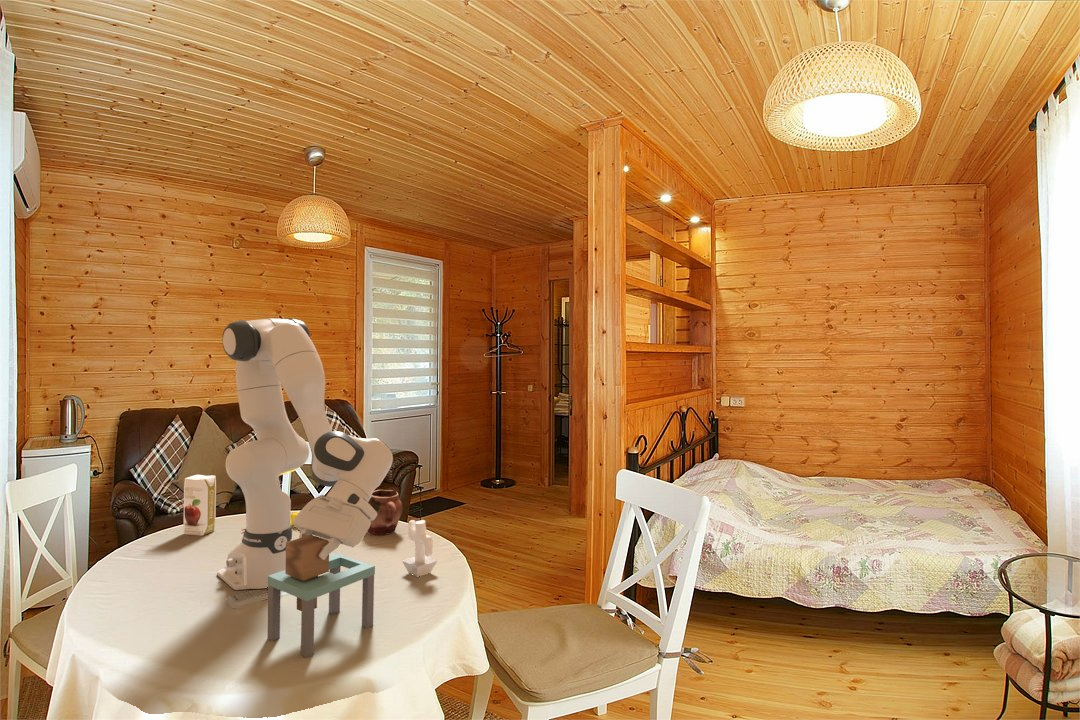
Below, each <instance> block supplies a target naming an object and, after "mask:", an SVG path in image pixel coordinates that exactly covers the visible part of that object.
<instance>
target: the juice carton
mask: <svg viewBox="0 0 1080 720" xmlns="http://www.w3.org/2000/svg"><path fill="white" fill-rule="evenodd" d="M216 502H217V479H216V475H204V474H195V475H191V476H189V477H185V478H184V483H183V534H184V535H188V536H199V537H200V536H205V535H207V534H209V533H212V532H214V531H215V528H216V515H217V514H216V511H217V510H216V509H217V508H216V506H217V505H216V504H217V503H216Z"/></svg>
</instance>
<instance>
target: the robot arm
mask: <svg viewBox="0 0 1080 720" xmlns="http://www.w3.org/2000/svg"><path fill="white" fill-rule="evenodd" d="M221 339H222V347H223V350H224V353H225V355H227V356H228V358H230V359H231V360H233V361H236V363H235V364H236V366H235V367H236V368H235V382H236V384H235V385H236V391H237V399H238V405H239V412H240V417H241V419H242V421H243V422H244V423H245V424H247V425H249V426H250V427H251V428H252V429H253V431H254V432H255V434H256V437H257V440H252V441H248V442H247V441H246V442H244V443H243V444H241V445H238V446H236V447H234V448H233V449H231V450H230V452H229V453H228V454H227V456H226V459H225V470H226V474H227V476H228V477H229V478H230V480H232V481H233V482H234V483H236V484H237V485H238V486H239V487H240V489H241V490H242V491H241V492H242V493H243V496H244V500H245V511H246V512H245V513H246V514H245V515H246V516H245V517H246V519H245V520H246V521H245V523H246V525H245V528H243V529H241V531H243V532H241V534H242V538H241V542H240V543H239V544H238V545H237V546H235V547H234V548H233V549H231V550H230V551H229V553H228V554H227V558H226V561H225V565H226V566H224V567H222V568H220V569H219V570H217V573H216V575H217V577H219V578H220V579H221V580H222V581H223V582H225V583H226V584H227V585H228V586H229V587H230V588H232V589H233V590H235V591H240V590H250V589H251V590H252V589H253V590H255V589H256V590H257V589H259V590H260V589H268V588H267V587H268V576H269V575H272V574H275V573H278V572H281V571H284V570H285V569H286V542H289V541H292V540H293V527H294V526H295V528H296V529H298V530H299V531H300V533H299V536H298V539H299V538H302V537H306V536H309V535H313V536H317V537H320V538H323V539H326V540H329V541H328V542H329V543H328V544H327V545H326V546H325V547H324V548H323V549H322V548H320V549H319V551H318V552H317V554H316V556H317V557H318V558H320V559H322V560H325V559H326V557H327V556H328V554H329V555H330V554H331V553H332V552H334V551H335V550H336V549H338V547H339V546H340V545H341V544H342V545H345V546H347V547H351V548H354V547H356V546H357V545H359V544H360V543H361V542H362V541H363V538H364V537H365V535H366V534H367V533H368V532H367V531H368V529H369V527H370V525H371V521H372V520H374V519H375V518H376V516H377V512H376V511H375V510H374V509H373V508H372V507H371V505H370V504H369V503H368V501H369V500H370V498H371V495H372V493H373V491H376V489H377V488H378V487H379V486H381V484H382V483H383V481H384V479H385V478H386V476H387V475H388V472H389V471H390V469H391V467H392V465H393V461H394V456H393V453H392V452H393V451H392V450H391V449H390V447H389V446H388V445H387V444H386V443H385V442H384V441H382V440H380V439H379V438H375V437H371V438H363V437H356V436H353V435H350V434H347V433H345V432H343V431H339V430H338V431H337V430H332V427H331V424H330V421H329V419H328V415H327V413H326V406H325V405H326V404H325V393H326V376H325V374H326V373H325V370H324V367H323V366H324V365H323V363H322V360H321V357H320V354H319V353H318V350H317V348H316V346H315V344H314V343H313V341H312V339H311V333H310V330H309V327H308V326H307V324H306V323H305V322H304V321H302V320H300V319H295V318H286V319H285V318H275V317H274V318H272V317H271V318H269V317H267V318H263V319H262V318H259V319H251V320H244V319H243V320H242V319H241V320H237V321H233V322H230V323H228V324H227V325H226V327H225V328H224V330H223V332H222V338H221ZM282 389H283V390H284V392H285V394H286V396H287V398H288V399H289V401H290V402H291V404H292V406H293V409H294V410H295V411H296V414H297V416H298V417H299V420H300V423H301V425H302V429H303V431H304V434H305V437H306V439H307V441H306V440H305V439H304V438H303V437H301V436H300V435H299V434H298V432H296V430H295V429H294V426H293V425H292V423H291V421H290V420H289V417H288V414H287V410H286V407H285V401H284V394H283V390H282ZM307 442H308V443H307ZM310 451H311V461H310V462H311V463H310V473H311V476H312V478H313V480H315V482H316V483H317V484H319V485H321V486H323V487H329V488H331V489H330V490H329V492H328V493H327V494H326V495H324V494H321V495H319V496H317V497H314V498H313V499H311V500H310V501H309V502H307V503H306V504H305V505H304V506H303V508H302V509H301V510H299V511H300V512H299V513H298V515H297V516H296V517H295V519H294V521H293V525H294V526H291V514H292V513H291V509H292V507H291V505H292V503H291V502H292V501H291V498H290V496H289V495H288V494H287V493H286V492H284V491H283V490H282V489H281V485H280V481H279V477H280V476H283V475H286V474H289V473H292V472H294V471H296V470H298V469H300V468H301V467H302V466H303V465H305V463H307V461H308V459H309V456H310ZM370 520H371V521H370Z"/></svg>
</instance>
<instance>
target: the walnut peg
mask: <svg viewBox="0 0 1080 720" xmlns="http://www.w3.org/2000/svg"><path fill="white" fill-rule="evenodd" d="M328 541H329V540H328V539H325V538H321V537H318V536H315V535H309V536H306V537H302V538H299V537H298V538H295V539H291V541H289V542H286V569H285V574H287V575H290V576H292V577H295V578H297V579H300V580H303V581H307V580H310V579H313V578H315V577H317V576H321V575H324V574H327V573H329V572H330V570H329V555H330V553H329V554H328V556H327V557H326V559H325V560H322V559H320V558H318V557H317V556H316V554H317V552H318V551H319V549H320V548H322V549H323V548H324V547H325V546H326V545H327V544H328V543H329V542H328ZM317 608H318V597H317V598H315V604H314V610H316V609H317ZM296 610H297V611H299V612H302V599H300V598H298V597H296Z"/></svg>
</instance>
